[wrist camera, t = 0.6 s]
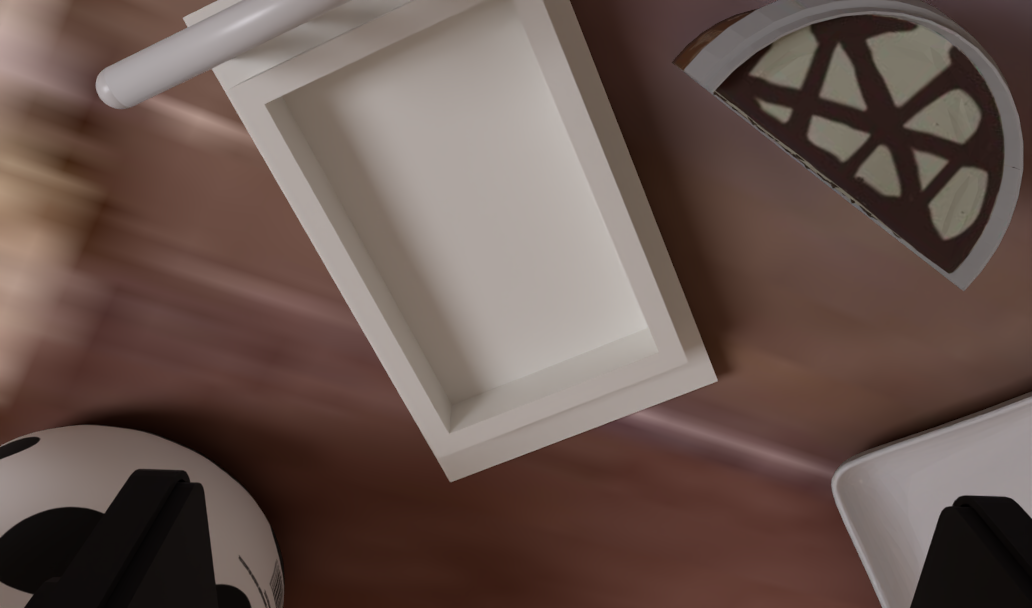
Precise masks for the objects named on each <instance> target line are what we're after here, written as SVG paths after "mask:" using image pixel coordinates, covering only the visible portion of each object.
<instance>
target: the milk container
mask: <svg viewBox="0 0 1032 608" xmlns="http://www.w3.org/2000/svg"><path fill="white" fill-rule="evenodd" d="M137 469H164V470H184V471H186V472H187V474H188V476H189V478H190V482H198V483H201V484H202V486H203V488H204V493H205V501H206V509H207V517H208V525H209V534H210V542H211V550H212V558H213V567H214V575H215V583H216V591H217V600H218V608H283V602H284V566H283V559H282V555H281V551H280V548H279V545H278V542H277V539H276V536H275V533H274V531H273V529H272V527H271V525H270V523H269V521H268V519H267V518H266V516H265V515H264V513H263V511H262V510H261V508H260V507H259V505H258V504H257V502H256V501H255V499H254V498H253V497H252V495H251V494H250V493H249V491H248V490H247V489H246V488H245V487H244V486H243V485H242V484H241V483H240V482H239V481H238V480H236V479H235V478H234V477H233V476H231V475H230V474H229V473H228V472H226V471H225V470H224V469H223V468H221V467H220V466H219V465H218V464H216V463H215V462H214V461H212V460H211V459H209V458H208V457H206V456H205V455H203V454H202V453H200V452H198V451H196V450H194V449H192V448H190V447H187V446H185V445H183V444H180V443H178V442H175V441H173V440H170V439H168V438H165V437H163V436H160V435H157V434H154V433H151V432H148V431H144V430H139V429H134V428H126V427H118V426H109V425H98V424H81V425H72V426H66V427H60V428H53V429H47V430H43V431H38V432H34V433H31V434H28V435H25V436H21V437H19V438H16V439H14V440H12V441H9V442H7V443H5V444H3V445H1V446H0V608H24V607H25V606H26V604H27V603H28V601H29V600H30V599H31V597H32V596H33V594H34V593H35V592H36V591H37V589H38V588H39V587H40V586H41V585H42V584H43V583H44V582H45V581H47V580H49V579H51V578H52V577H61V576H62V575H63V574H64V572H65V571H66V569H67V568H68V566H69V565H70V563H71V562H72V560H73V559H74V557H75V556H76V554H77V553H78V551H79V550H80V549H81V547H82V546H83V544H84V543H85V541H86V540H87V538H88V537H89V535H90V534H91V532H92V531H93V529H94V528H95V526H96V525H97V524H98V522H99V521H100V519H101V518H102V516H103V515H104V513H105V512H106V510H107V509H108V507H109V506H110V504H111V503H112V501H113V500H114V499H115V497H116V496H117V494H118V493H119V491H120V490H121V488H122V487H123V485H124V484H125V482H126V481H127V479H128V478H129V476H130V475H131V474H132V473H133V472H134V471H135V470H137Z"/></svg>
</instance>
